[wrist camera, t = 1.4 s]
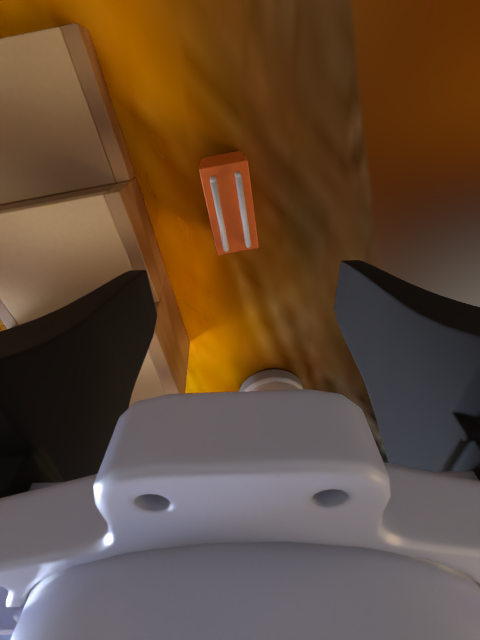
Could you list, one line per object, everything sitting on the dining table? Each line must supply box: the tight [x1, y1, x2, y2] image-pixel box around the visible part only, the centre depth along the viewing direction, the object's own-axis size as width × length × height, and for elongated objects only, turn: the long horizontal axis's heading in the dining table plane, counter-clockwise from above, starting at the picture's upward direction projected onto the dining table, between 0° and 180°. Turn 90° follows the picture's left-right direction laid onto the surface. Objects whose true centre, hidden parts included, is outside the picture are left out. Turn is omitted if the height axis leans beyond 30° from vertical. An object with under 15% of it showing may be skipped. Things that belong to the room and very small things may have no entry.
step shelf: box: [0, 23, 190, 409], centre depth 18 cm, size 20×10×6 cm, turn 9°
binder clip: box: [199, 151, 259, 255], centre depth 17 cm, size 4×2×5 cm, turn 9°
